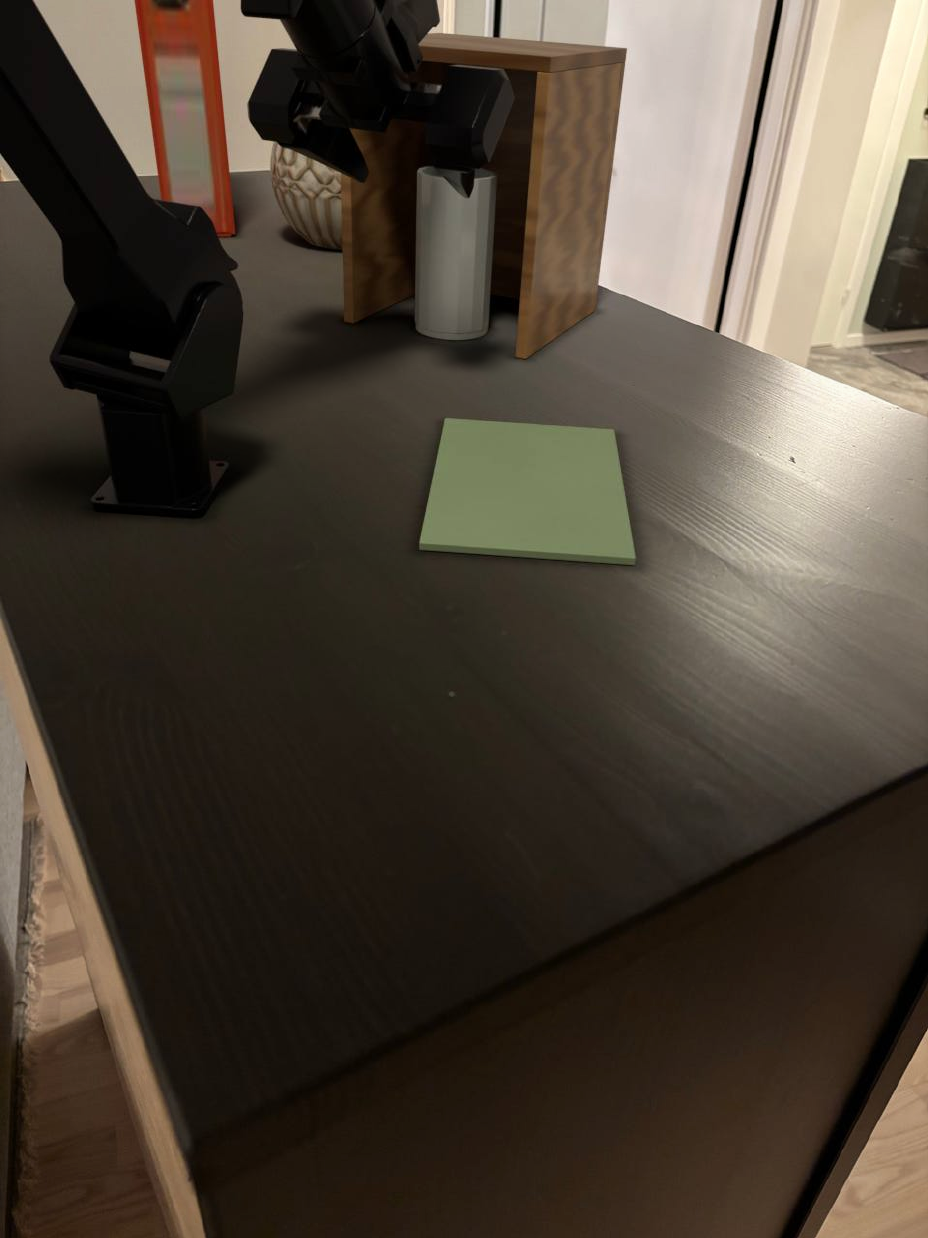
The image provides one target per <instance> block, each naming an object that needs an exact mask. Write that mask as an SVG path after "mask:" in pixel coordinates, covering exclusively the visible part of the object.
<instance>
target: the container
mask: <svg viewBox="0 0 928 1238" xmlns="http://www.w3.org/2000/svg"><path fill="white" fill-rule="evenodd" d="M497 177H498V173H496V172H494V171H492V170H489V169H485V168H480V169H475V177H474V188H473V191H472V193H471V196H470V198H469V199H468V198H464V197H463V196H462V195H460V194H459V193H458V192H457V191H456V190H455V189H454V188H453V187H452V186H451V185H450V184H449V183H448V182H447V180H446V179H445V178H444V177H443V176H442V175H441V174H440V173H439V172H438V171H437V170H436V169H435V168H434V166H426V167H422V168H419V169H418V171H417V216H416V278H415V294H414V328H415V330H416V331H417V332H418V333H419V334H421V335H422V336H426V337H429V338H433V339H438V340H444V341H445V340H446V341H467V340H474V339H478V338H481V337H483V336H485V335H486V334H487V333H489V325H490V324H489V323H490V309H491V295H492V294H491V277H492V260H493V244H494V227H495V210H496V194H497Z"/></svg>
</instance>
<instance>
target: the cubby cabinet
mask: <svg viewBox="0 0 928 1238" xmlns="http://www.w3.org/2000/svg"><path fill="white" fill-rule="evenodd" d="M418 45H419V47H420V50H421V52H422V55H423V59H422V61H421V64H420V66H419V68H418V71H417V72H414V71H411V72H410V75H409V79H410V82H419V83H429V84H439V85H442V83H443V81H444V78H445V76H446V73H447V71H448V68H449V66H452V65H467V66H478V67H488V68H499V69H504V71H505V72H506V74H507V76H508V78H509V80H510V83H511V87H512V90H513V93H514V96H515V99H514V102H513V104H512V107H511V109H510V112H509V114H508V117H507V119H506V122H505V124H504V127H503V129H502V132H501V134H500V137H499V139H498V142H497V144H496V147H495V149H494V152H493V154H492V157H491V159H490V162H489V163H488V164H487V165H485V166H483V167H482V168H485V169H489V170H492V171H494V172H496V173H498V177H497V194H496V210H495V227H494V244H493V260H492V277H491V294H490V295H492V296H493V295H494V296H499V297H504V298H508V299H509V298H510V299H515V300H519V304H518V318H517V319H518V320H517V331H516V345H515V358H518V359H522V360H523V359H524V360H526V359H528V358H530V357H532V355H534V354H535V353H536V352H538V351H540V350H541V349H543V348H544V347H545V346H547V345H548V344H549V343H551V342H552V341H554V340H555V339H556V338H558V337H559V336H561V335H563V334H564V333H565V332H566V331H568V330H569V329H571V328H572V327H574V326H575V325H576V324H578V323H580V322H581V321H582V320H584V319H585V318H586V317H588V316H589V315H590V314H592V313H593V312H595V311H596V306H597V299H598V292H599V291H598V290H599V283H600V274H601V265H602V257H603V248H604V240H605V233H606V224H607V216H608V210H609V209H608V208H609V202H610V201H609V200H610V191H611V183H612V175H613V167H614V158H615V150H616V142H617V134H618V126H619V118H620V110H621V102H622V93H623V87H624V86H623V84H624V78H625V77H624V76H625V71H626V60H627V53H628V48H627V47H618V46H617V47H616V46H605V45H594V44H593V45H592V44H591V45H590V44H581V43H567V42H556V41H543V40H532V39H531V40H530V39H521V38H520V39H519V38H507V37H495V36H494V37H493V36H484V35H483V36H482V35H471V34H458V33H446V32H445V33H444V32H430V33H429V32H428V33H427V35H426V36H425V37H424V38H423V39H422V41H421V42H420V43H419V44H418ZM349 129H350V128H349ZM350 131H351V133H352V135H353V137H354V139H355V141H356V143H357V145H358V147H359V149H360V151H361V153H362V155H363V157H364V159H365V162H366V165H367V167H368V170H369V174H368V177H367V179H366V181H365V183H360V182H358V181H356V180H354V179H352V178H350V177H348V176H346V175H344V174H342V173H341V207H342V247H343V250H342V280H343V281H342V282H343V312H344V313H343V321H344V323H345V322H346V323H350V324H355V323H357V322H359V321H361V320H363V319H365V318H368V317H370V316H372V315H374V314H376V313H378V312H381V311H382V310H386V309H387V308H389V307H391V306H393V305H395V304H398V303H399V302H402V301H404V300H406V299H408V298H410V297H413V296H415V278H416V216H417V171H418V169H419V168H422V167H426V166H433V164H434V162H435V159H436V158H434V157H433V156H431V155H430V152H429V150H428V148H427V146H426V123H425V122H416V121H408V120H400V119H392V120H390V123H389V125H388V128H387V130H386V132H385V133H382V132H374V131H366V130H358V129H350Z"/></svg>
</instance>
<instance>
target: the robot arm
mask: <svg viewBox="0 0 928 1238" xmlns="http://www.w3.org/2000/svg"><path fill="white" fill-rule="evenodd" d="M240 12H241V14H242V16H244V17H245V18H255V19H268V20H279V21H280V24H281V25H282V26H283V28H284V30H285V32H286V34H287V35H288V37H289V39H290V41H291V42H292V44H293V46H294V48H285V47H280V48H271V49H270V51H269V53H268V56H267V58H266V59H265V62H264V64H263V67H262V69H261V71H260V73H259V75H258V78H257V80H256V83H255V85H254V87H253V89H252V92H251V94H250V96H249V99H248V101H247V103H246V106H247V107H246V108H247V118H248V121H249V123H250V124H251V126H252V127H253V129H254V130H255V132H256V133H257V135H258V136H259V137H260V139H261V141H268V142H273V141H274V142H277V143H278V144H279V145H280V146H281V147H282V148H287V149H290V150H293V151H295V152H297V153H299V154H302V155H304V156H306V157H308V158H311V159H313V160H315V161H317V162H319V163H321V164H324V165H326V166H328V167H330V168H332V169H334V170H336V171H338V172H340V173H342V174H344V175H346V176H348V177H350V178H352V179H354V180H356V181H358V182H360V183H365V181H366V179H367V177H368V174H369V170H368V167H367V165H366V162H365V159H364V157H363V155H362V153H361V151H360V149H359V147H358V145H357V143H356V141H355V139H354V137H353V135H352V133H351V131H350V129H358V130H366V131H374V132H382V133H385V132H386V130H387V128H388V125H389V123H390V120H392V119H400V120H408V121H416V122H425V123H426V146H427V148H428V150H429V152H430V155H431V156H433V157H434V158H436V159H435V162H434V164H433V166H434V168H435V169H436V170H437V171H438V172H439V173H440V174H441V175H442V176H443V177H444V178H445V179H446V180H447V182H448V183H449V184H450V185H451V186H452V187H453V188H454V189H455V190H456V191H457V192H458V193H459V194H460V195H462V196H463V197H464V198H468V199H469V198H470V196H471V193H472V191H473V188H474V177H475V169H480V168H482V167H483V166H485V165H487V164H488V163H489V162H490V159H491V157H492V154H493V152H494V149H495V147H496V144H497V142H498V139H499V137H500V134H501V132H502V129H503V127H504V124H505V122H506V119H507V117H508V114H509V112H510V109H511V107H512V104H513V102H514V99H515V96H514V93H513V90H512V87H511V83H510V80H509V78H508V76H507V74H506V72H505V71H504V69H499V68H488V67H478V66H467V65H452V66H449V68H448V71H447V73H446V76H445V78H444V81H443V83H442V85H439V84H429V83H419V82H410V79H409V75H410V72H411V71H414V72H417V71H418V68H419V66H420V64H421V61H422V59H423V55H422V52H421V50H420V47H419V45H418V44H419V43H420V42H421V41H422V39H423V38H424V37H425V36H426V35H427V34H429V32H430V31H431V30H432V29H433V28H437V27H438V25H439V24H440V22H441V17H440V11H439V4H438V0H240ZM349 128H350V129H349ZM0 156H1V158H2V159H3V160H4V161H5V163H6V164H7V166H8V167H9V169H10V170H11V171H12V172H13V174H14V175H15V176H16V178H17V180H18V181H19V182H20V184H21V185H22V186H23V188H24V189H25V190H26V192H27V193H28V195H29V196H30V197H31V199H32V200H33V201H34V203H35V205H37V207H38V208H39V210H40V211H41V212H42V214H43V215H44V217H45V218H46V219H47V221H48V222H49V224H50V225H51V226H52V228H53V229H54V230H55V232H56V234H57V236H58V238H59V240H60V246H61V247H60V249H61V266H62V268H61V269H62V277H63V278H62V279H63V282H64V283H63V284H64V285H65V288H66V289H67V292H69V295H70V296H71V298H72V301H73V305H72V307H71V310H70V312H69V314H68V316H67V318H66V320H65V323H64V325H62V329H61V330H60V333H59V335H58V338H57V339H56V341H55V344H54V346H53V347H52V349H51V352H50V354H49V363H50V365H51V367H52V369H53V371H54V373H55V374H56V376H57V378H58V380H59V381H60V383H61V386H62V387H63V388H64V389H66V390H67V389H68V390H70V391H73V390H76V391H80V392H84V393H88V394H92V395H96V400H97V406H98V411H99V412H98V413H99V418H100V422H101V428H102V434H103V435H102V436H103V440H104V445H105V450H106V456H107V461H108V462H107V463H108V467H109V473H110V476H109V477H108V478H107V479H106V480H105V482H104V483H103V484H102V485H101V486H100V487H99V489H98V490H97V491H96V493H95V494H94V495H93V496H92V497H91V498H90V502H91V507H92V508H93V509H96V510H104V511H105V510H106V511H118V512H119V511H120V512H134V513H146V514H147V513H148V514H149V513H150V514H161V515H177V516H188V517H189V516H190V517H195V516H196V517H197V516H200V515H203V514H204V513H205V511H206V509H207V507H208V506H209V505H210V503H211V501H212V499H213V498H214V496H215V495H216V493H217V491H218V490H219V488H220V487H221V485H222V483H223V482H224V480H225V478H226V477H227V476H228V474H229V472H230V464H229V463H228V462H226V461H222V460H221V461H219V460H210V453H209V445H208V436H207V427H206V419H205V411H204V410H205V408H207V407H210V406H212V405H213V404H216V403H218V402H219V401H222V400H224V399H226V398H228V397H231V396H232V395H233V394H234V392H235V384H236V377H237V370H238V363H239V355H240V348H241V340H242V333H243V332H242V331H243V325H244V308H243V306H244V302H243V297H242V293H241V290H240V287H239V284H238V282H237V279H236V277H235V276H234V274H233V273H232V272H233V271H235V270H237V269H238V267H239V264H238V262H237V260H235V259H233V258H232V257H231V256H230V255H229V254H228V253H227V251H226V249H225V248H224V247H223V245H222V243H221V240H220V237H218V235H217V232H216V230H215V227H214V224H213V222H212V220H211V219H210V218H209V216H208V215H207V214H206V212H205V211H204V210H203V209H202V208H201V207H199V206H193V205H187V204H181V203H176V202H170V201H164V200H161V199H158V198H153V197H152V196H151V195H150V193H149V192H148V191H147V189H146V188H145V186H144V185H143V183H142V181H141V179H140V178H139V176H138V175H137V172H136V171H135V170H134V167H133V166H132V164H131V163H130V161H129V159H128V157H127V155H126V154H125V153H124V151H123V149H122V147H121V146H120V144H119V142H118V140H117V139H116V137H115V135H114V134H113V132H112V131H111V128H110V127H109V125H108V124H107V121H106V120H105V118H104V117H103V116H102V114H101V112H100V110H99V108H98V107H97V105H96V103H95V102H94V100H93V98H92V97H91V95H90V93H89V92H88V89H87V88H86V87H85V85H84V83H83V81H82V80H81V78H80V76H79V75H78V73H77V71H76V70H75V68H74V65H72V63H71V61H70V60H69V58H68V56H67V54H66V53H65V51H64V49H63V48H62V46H61V45H60V43H59V41H58V39H57V38H56V36H55V34H54V33H53V31H52V29H51V28H50V26H49V24H48V22H47V21H46V19H45V17H44V16H43V14H42V12H41V10H40V9H39V7H38V6H37V4H36V2H35V0H0ZM131 353H135V354H140V355H143V356H148V357H152V358H155V359H160V360H164V361H168V362H169V364H168V366H165V365H161V364H158V363H153V362H149V361H145V360H140V359H137V358H132V357H130V356H131Z"/></svg>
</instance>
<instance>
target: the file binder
mask: <svg viewBox="0 0 928 1238" xmlns="http://www.w3.org/2000/svg"><path fill="white" fill-rule="evenodd" d="M214 6H215V5H214V0H134V7H135V15H136V22H137V29H138V38H139V44H140V45H139V46H140V51H141V52H140V53H141V59H142V60H141V61H142V66H143V74H144V82H145V88H146V96H147V103H148V111H149V118H150V119H149V120H150V126H151V133H152V142H153V149H154V155H155V164H156V171H157V179H158V185H159V193H160V200H164V201H170V202H176V203H181V204H187V205H193V206H199V207H201V208H202V209H203V210H204V211H205V212H206V214H207V215H208V216H209V218H210V219H211V220H212V222H213V224H214V227H215V230H216V232H217V235H218V238H220V237H232V235H236V225H235V217H234V216H235V215H234V205H233V195H232V184H231V175H230V174H231V173H230V164H229V154H228V153H229V151H228V143H227V134H226V133H227V132H226V123H225V122H226V121H225V110H224V102H223V90H222V89H223V88H222V80H221V69H220V59H219V47H218V38H217V27H216V16H215V7H214Z"/></svg>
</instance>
